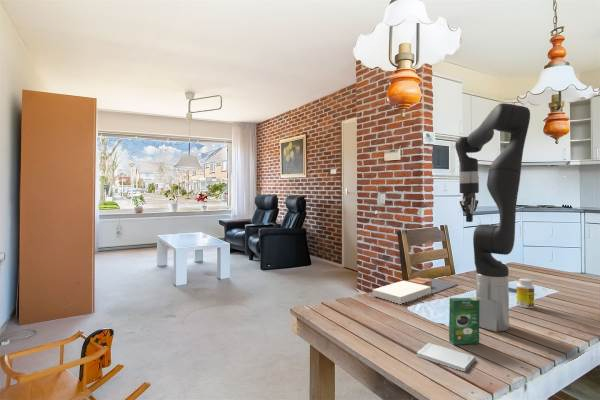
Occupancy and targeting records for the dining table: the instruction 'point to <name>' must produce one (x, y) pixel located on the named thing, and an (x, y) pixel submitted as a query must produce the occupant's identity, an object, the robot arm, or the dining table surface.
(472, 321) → the coffee box
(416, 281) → the terracotta block
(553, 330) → the dining table surface
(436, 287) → the mat
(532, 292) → the supplement bottle
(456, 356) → the hard drive
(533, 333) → the dining table surface
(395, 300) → the block
